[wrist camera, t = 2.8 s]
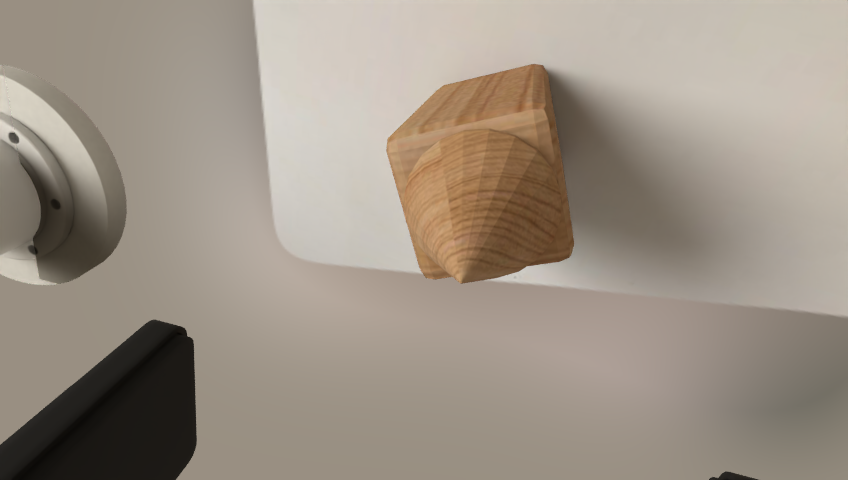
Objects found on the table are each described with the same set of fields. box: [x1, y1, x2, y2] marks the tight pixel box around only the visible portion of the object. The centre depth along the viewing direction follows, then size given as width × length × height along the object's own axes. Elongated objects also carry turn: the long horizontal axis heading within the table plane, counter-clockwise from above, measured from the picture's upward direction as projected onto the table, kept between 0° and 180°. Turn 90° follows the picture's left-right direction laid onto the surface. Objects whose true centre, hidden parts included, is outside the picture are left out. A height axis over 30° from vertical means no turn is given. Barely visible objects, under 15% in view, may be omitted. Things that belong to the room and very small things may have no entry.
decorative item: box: [387, 64, 574, 284], centre depth 25 cm, size 7×7×20 cm
